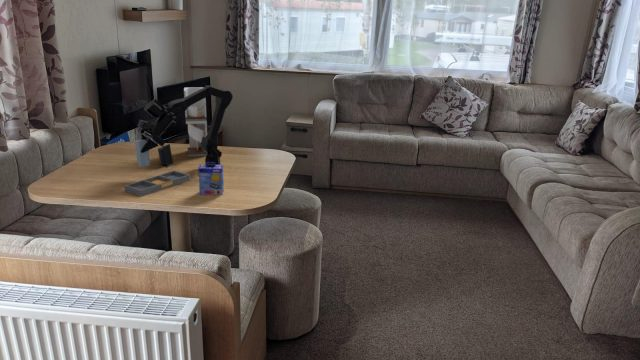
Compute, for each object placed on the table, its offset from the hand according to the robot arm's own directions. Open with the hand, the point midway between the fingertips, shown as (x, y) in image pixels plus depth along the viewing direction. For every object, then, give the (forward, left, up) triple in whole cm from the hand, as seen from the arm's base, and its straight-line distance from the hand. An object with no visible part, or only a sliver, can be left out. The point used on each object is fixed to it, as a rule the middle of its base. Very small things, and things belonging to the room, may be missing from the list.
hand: (139, 151), depth 221 cm
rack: (-11, +5, -13) cm, 18 cm away
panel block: (-1, -1, -7) cm, 7 cm away
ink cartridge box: (-37, +9, -14) cm, 40 cm away
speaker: (0, -25, -14) cm, 28 cm away
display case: (-8, -48, -14) cm, 50 cm away
